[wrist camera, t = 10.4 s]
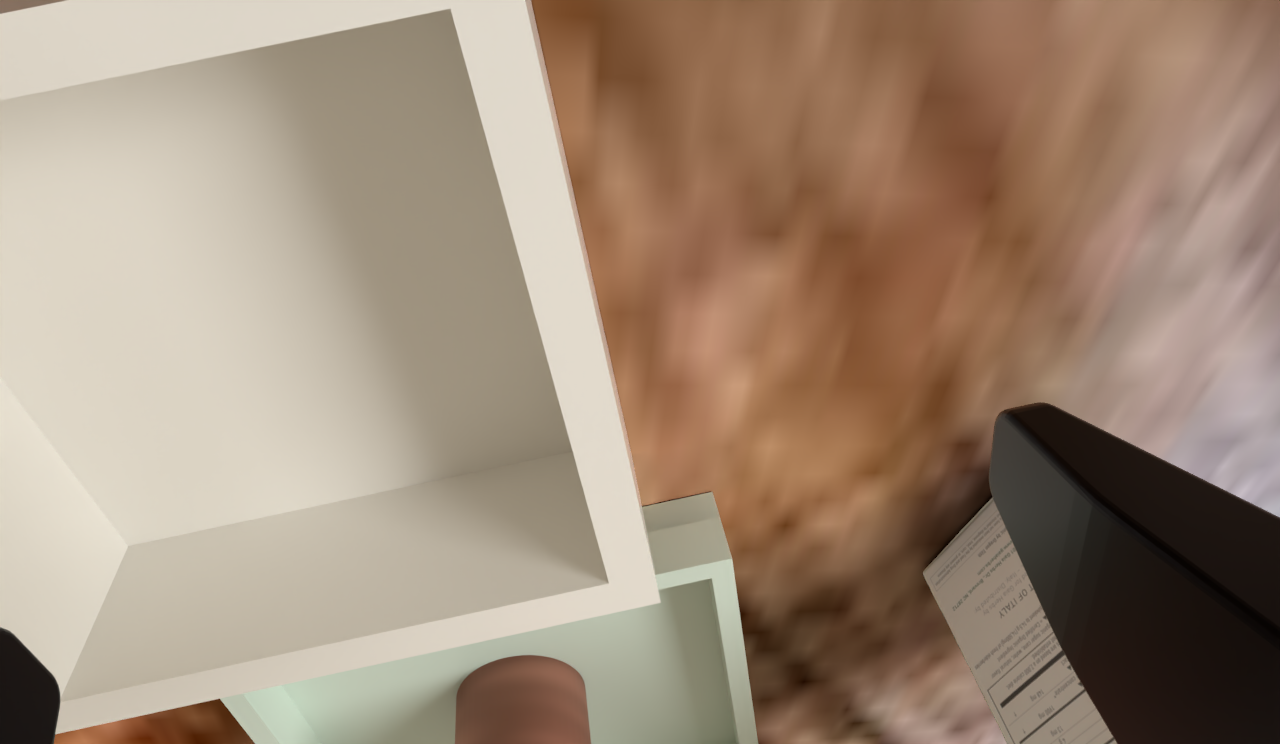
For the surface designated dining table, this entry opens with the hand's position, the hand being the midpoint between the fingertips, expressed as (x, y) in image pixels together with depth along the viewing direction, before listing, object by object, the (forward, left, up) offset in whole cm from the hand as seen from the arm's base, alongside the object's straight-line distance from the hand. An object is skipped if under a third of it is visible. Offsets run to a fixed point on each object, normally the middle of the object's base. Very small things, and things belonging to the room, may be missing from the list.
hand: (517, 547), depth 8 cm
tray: (+4, +18, -12) cm, 22 cm away
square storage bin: (+6, +3, -12) cm, 14 cm away
